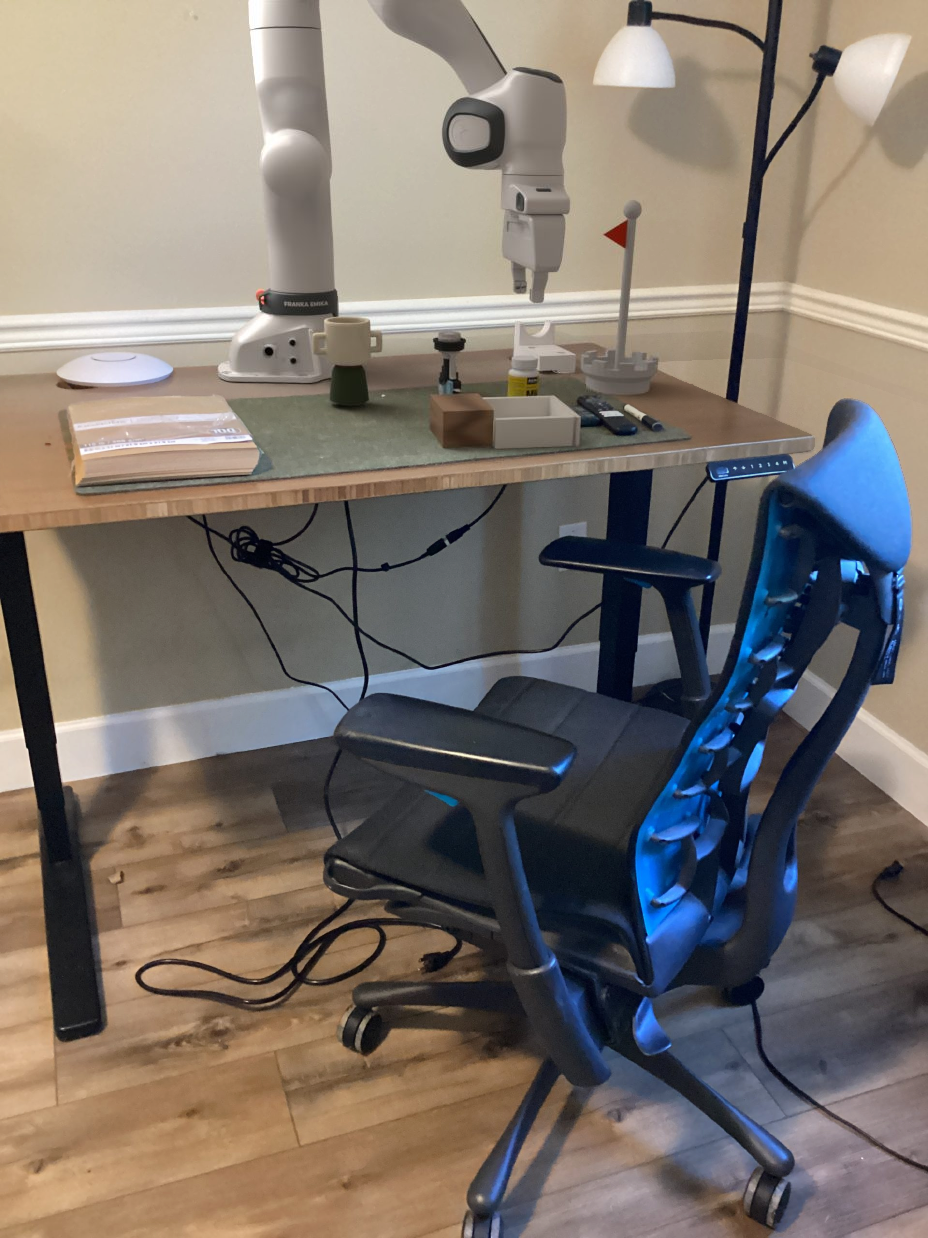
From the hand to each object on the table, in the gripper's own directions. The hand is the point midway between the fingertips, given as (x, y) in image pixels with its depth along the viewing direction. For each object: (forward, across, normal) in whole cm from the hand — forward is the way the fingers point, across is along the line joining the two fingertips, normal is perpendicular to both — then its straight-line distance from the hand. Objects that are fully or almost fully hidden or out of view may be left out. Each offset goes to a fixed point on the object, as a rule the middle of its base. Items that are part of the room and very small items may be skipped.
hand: (527, 297), depth 150 cm
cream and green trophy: (+17, -8, -26) cm, 32 cm away
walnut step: (+17, +13, -13) cm, 25 cm away
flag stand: (+18, -15, +21) cm, 31 cm away
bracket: (+18, -34, +13) cm, 40 cm away
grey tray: (+17, +13, -3) cm, 22 cm away
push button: (+17, -12, -9) cm, 23 cm away
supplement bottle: (+17, 0, 0) cm, 17 cm away
